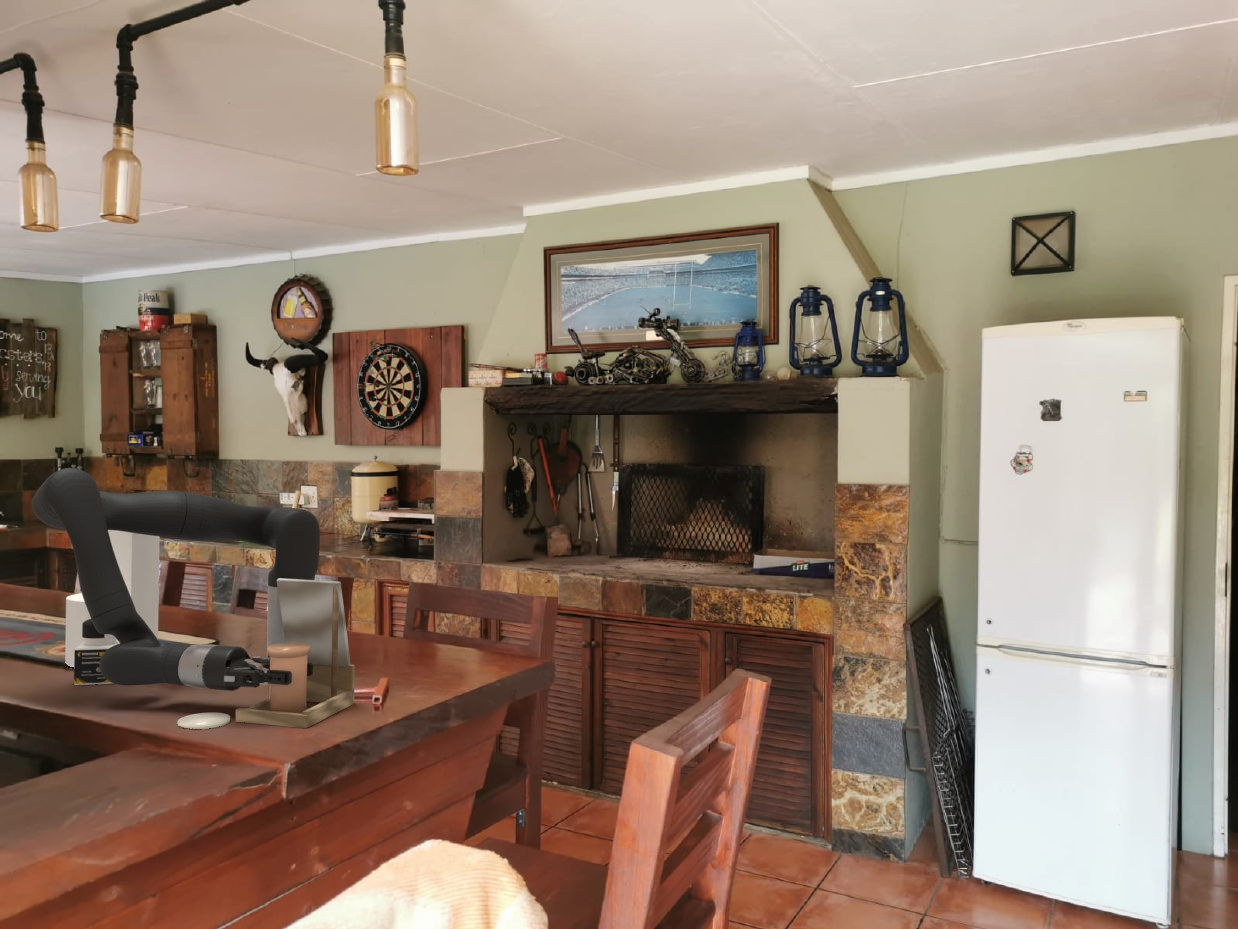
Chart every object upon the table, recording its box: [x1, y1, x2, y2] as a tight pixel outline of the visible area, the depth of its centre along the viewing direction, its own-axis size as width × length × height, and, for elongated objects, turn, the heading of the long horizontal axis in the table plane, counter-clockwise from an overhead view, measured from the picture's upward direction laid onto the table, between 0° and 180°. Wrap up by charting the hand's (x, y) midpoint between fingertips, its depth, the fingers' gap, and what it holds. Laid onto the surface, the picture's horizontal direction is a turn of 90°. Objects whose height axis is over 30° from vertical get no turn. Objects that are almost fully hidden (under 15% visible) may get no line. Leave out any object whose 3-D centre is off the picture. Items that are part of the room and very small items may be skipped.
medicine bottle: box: [73, 619, 120, 686], centre depth 183 cm, size 7×7×12 cm
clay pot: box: [268, 643, 310, 714], centre depth 161 cm, size 7×7×12 cm
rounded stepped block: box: [64, 530, 161, 667], centre depth 200 cm, size 17×17×28 cm
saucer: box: [176, 712, 231, 730], centre depth 156 cm, size 8×8×1 cm
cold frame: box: [235, 578, 356, 729], centre depth 164 cm, size 16×13×23 cm
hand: (301, 673), depth 160 cm, fingers closed on clay pot, 6 cm apart
